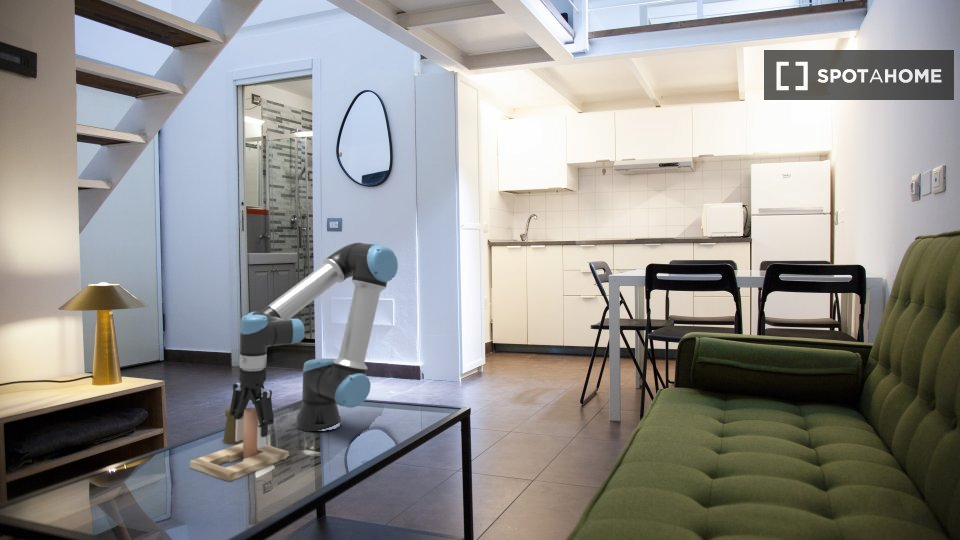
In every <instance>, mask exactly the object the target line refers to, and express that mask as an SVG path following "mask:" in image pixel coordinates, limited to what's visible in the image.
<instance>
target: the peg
mask: <svg viewBox="0 0 960 540" xmlns="http://www.w3.org/2000/svg"><path fill="white" fill-rule="evenodd" d="M243 415H244V417H243V418H244V436H243V441H242V443H243V458H242V460H243V459H246V458H248V457H251V456H254V455H257V434H258V426H259V420H258V416H257V412H256V409H255V407H246V409H245V410H244V414H243Z"/></svg>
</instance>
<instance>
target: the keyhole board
mask: <svg viewBox="0 0 960 540" xmlns="http://www.w3.org/2000/svg"><path fill="white" fill-rule="evenodd" d="M289 454H290V452H289V451H288V450H284V449H282V448H278V447H276V446H272V445H269V444H266V446H264V447H262V448H257V455H254V456H251V457H248V458H246V459H243V442H241V443H237V444H234V445H233V446H230V447H227V448H224V449H220V450H217V451H216V452H211V453H209V454H206V455H203V456H201V457H198V458H194V459H192V460H189V461H190V462H189V468H190V469H193V470H195V471H198V472H200V473H203V474H206V475H209V476H212V477H216V478H218V479H221V480H224V481H227V482H232V481H234V480H237V479H239V478H242V477H244V476H247V475H249V474H251V473H254V472H258V471H259V470H262V469H264V468H267V467H270V466H273V465H274V463H275V462H277V461H279V460H281V459H283V458H285V457H287V456H290V455H289ZM240 459H242V461H240V462H237V463H234V464H232V465H229V466H227V467H225V466H221V465H222V464H225V463H228V462H229V463H232V462H235V461H238V460H240ZM277 463H278V462H277ZM275 464H276V463H275Z"/></svg>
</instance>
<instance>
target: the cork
mask: <svg viewBox="0 0 960 540" xmlns="http://www.w3.org/2000/svg"><path fill="white" fill-rule="evenodd" d="M230 407H231V405H230V406H228V407H227V408H226V409H225V411H224V412H225V413H224V415H225V417H226V422H225V428H224V434H223V440H222V443H224V444H225V445H226V444H227V445H238V444H241V443H243V440H240V441H235V433H236V429H235V419H234V416H231V415H230V414H229V413H230ZM234 411H235V410H234Z"/></svg>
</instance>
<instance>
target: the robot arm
mask: <svg viewBox="0 0 960 540" xmlns="http://www.w3.org/2000/svg"><path fill="white" fill-rule="evenodd" d="M398 262H399V261H398V258H397V256H396V255H395V252H394V250H392V249H391V248H390V247H387V246H384V245H381V244H375V243H362V242H354V243H350V244H347V245H345V246H343V247H341V248H339V249H338V250H336V251H335V252H333V253H332V254H331V255H329V256H327V257H326V258H325V259H324V260H323V263H322V265H321V266H319V267H318V268H316V269H315V270H314V271H313V272H311V273H310V274H309V275H308V276H306V277H304V279H303V278H302V280H301V281H299V282H298V283H297V284H295V285H294V286H293V287H291V288H290V289H289V290H287V291H286V292H284V293H283V294H282V295H280V296H279V297H277V298H276V299H275V300H273V301H272V302H271V303H270V304H269V305H267V306H265V307H264V308H263V309H261V310H260V311H251V312H249V313H247V315H244V316H243V317H241V319H240V326H239V327H240V328H239V360H238V361H239V364H238V365H239V368H240V369H239V370H238V382H236V383H233V384H232V396H231V402H230V406H231V407H230V406H229V407H230V413H229V414H230V415H231V416H234V419H235V429H236V433H235V441H240V440H243V436H244V410H245V409H247V408H248V407H247V406H248V404H249V401H251V403H252V405H254V408H255V409H256V412H257V416H258V434H257V448H262V447H264V446H266V445H267V436H268V435H269V434H268V433H269V429H268V428H269V426H271V425H273V424H274V423H275V421H274V420H275V419H274V410H273V402H272V395H273V392H272V390H271V389H265V385H264V383H265V382H266V379H267V369H266V367H267V356H268V355H267V351H268V347H274V346H275V347H276V346H283V345H285V346H286V345H292V344H298V343H300V342H302V341H303V340H304V336H305V325H304V323H303V321H302V320H300V319H299V318H293V317H294V316H295V315H296V314H297V313H299V312H300V311H302V310H303V309H304V308H305V307H307V306H308V305H309V304H311V303H313V301H314V300H316V299H317V298H318V297H320V296H321V295H322V294H324V293H325V292H326V291H327V290H329V289H330V288H331V287H332V286H334V285H336V284H337V283H342V282H345V280H347V279H348V278H349V279H350V278H351V282H352V284H353V285H354V289H353V293H352V299H351V303H350V307H349V311H348V315H347V319H346V320H347V321H346V324H345V329H344V333H343V337H342V342H341V345H340V351H339V355H338V357H337V358H334V357H333V358H331V357H330V358H329V357H328V358H327V357H325V358H314V359H309V360H307V361H305V362H304V364H303V369H302V392H301V393H302V394H301V397H302V399H301V406H300V408H299V411H298V414H297V417H296V419H295V427H296V428H297V429H299V430H300V431H301V430H302V431H304V432H305V431H306V432H309V431H318V430H322V429H326V428H329V427H332V426H334V425H336V424H338V423H340V422H341V423H342V418H341V415H340V412H339V407H345V408H349V409H352V408H355V407H358V406H360V405H361V404H362V403H364V402H365V401H366V399H367V398H368V396H369V394H370V392H371V388H372V387H371V381H370V378H369V377H368V376H367V372H368V366H367V365H366V363H365V360H366V357H367V353H368V348H369V342H370V339H371V335H372V330H373V326H374V321H375V318H376V317H375V316H376V314H377V313H376V311H377V308H378V304H379V300H380V296H381V292H382V291H384V290H386V289H387V285H388V282H390V281H392V280H393V278H395V277H396V274H397V272H398V269H399V266H398V265H399V263H398ZM338 406H339V407H338ZM234 410H235V411H234Z"/></svg>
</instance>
